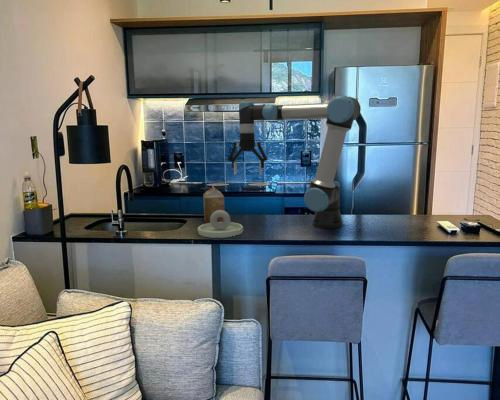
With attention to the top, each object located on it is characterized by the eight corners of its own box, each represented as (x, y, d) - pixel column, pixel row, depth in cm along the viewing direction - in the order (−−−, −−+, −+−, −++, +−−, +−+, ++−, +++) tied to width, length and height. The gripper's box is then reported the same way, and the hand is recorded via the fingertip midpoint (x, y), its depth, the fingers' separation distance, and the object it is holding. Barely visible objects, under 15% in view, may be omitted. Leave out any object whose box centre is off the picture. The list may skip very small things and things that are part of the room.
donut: (230, 228, 210) (230, 209, 208) (230, 230, 206) (230, 210, 204) (210, 229, 210) (210, 209, 208) (210, 231, 206) (209, 210, 204)
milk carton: (224, 222, 228) (223, 187, 225) (205, 223, 226) (203, 188, 223) (223, 218, 238) (222, 184, 235) (204, 219, 237) (202, 185, 233)
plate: (248, 227, 215) (247, 223, 215) (234, 239, 195) (234, 233, 194) (208, 225, 221) (208, 221, 221) (191, 236, 201) (190, 231, 201)
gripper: (272, 132, 215) (273, 173, 219) (226, 133, 222) (227, 173, 226) (269, 132, 208) (270, 175, 212) (221, 133, 215) (222, 175, 219)
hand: (248, 174), depth 219 cm, fingers open, 13 cm apart
